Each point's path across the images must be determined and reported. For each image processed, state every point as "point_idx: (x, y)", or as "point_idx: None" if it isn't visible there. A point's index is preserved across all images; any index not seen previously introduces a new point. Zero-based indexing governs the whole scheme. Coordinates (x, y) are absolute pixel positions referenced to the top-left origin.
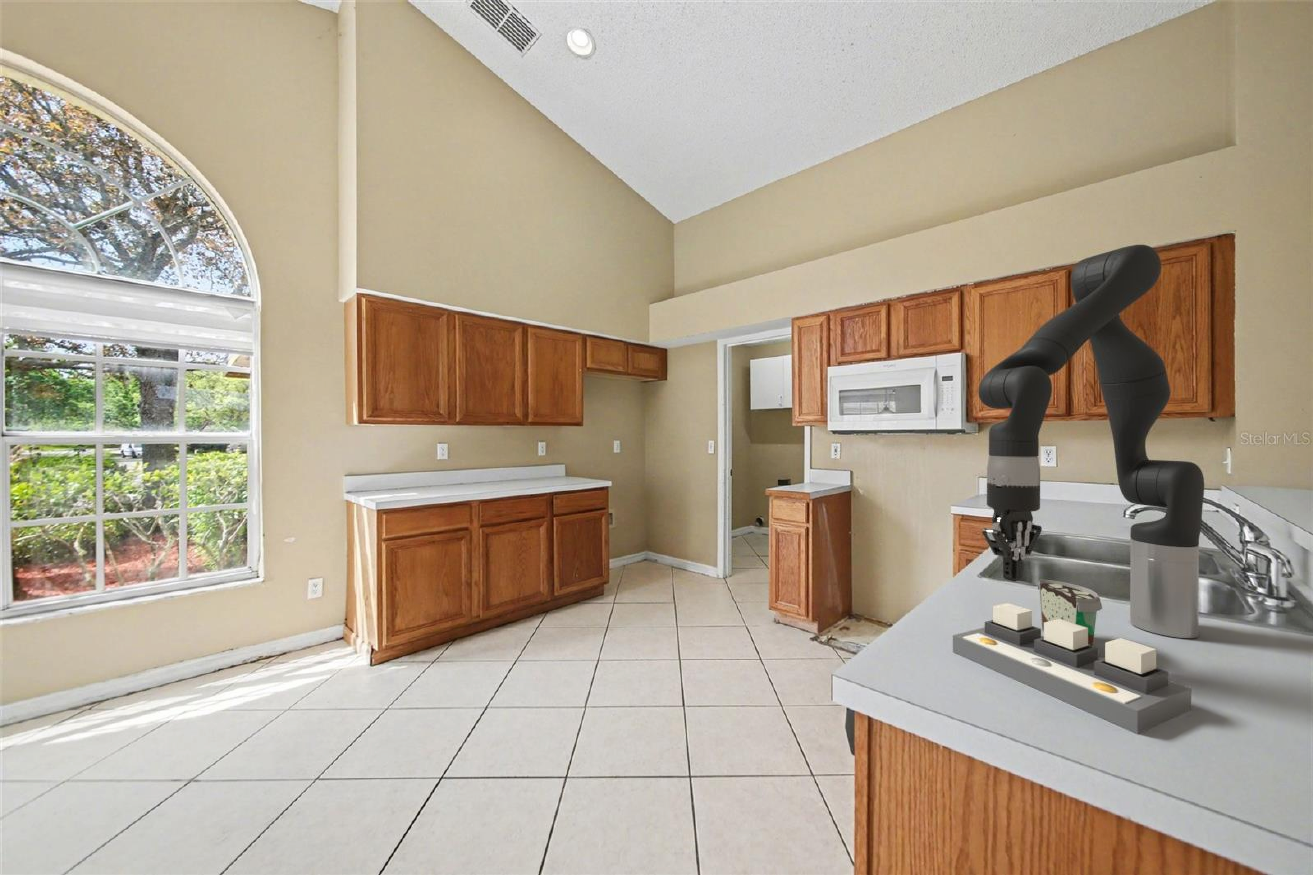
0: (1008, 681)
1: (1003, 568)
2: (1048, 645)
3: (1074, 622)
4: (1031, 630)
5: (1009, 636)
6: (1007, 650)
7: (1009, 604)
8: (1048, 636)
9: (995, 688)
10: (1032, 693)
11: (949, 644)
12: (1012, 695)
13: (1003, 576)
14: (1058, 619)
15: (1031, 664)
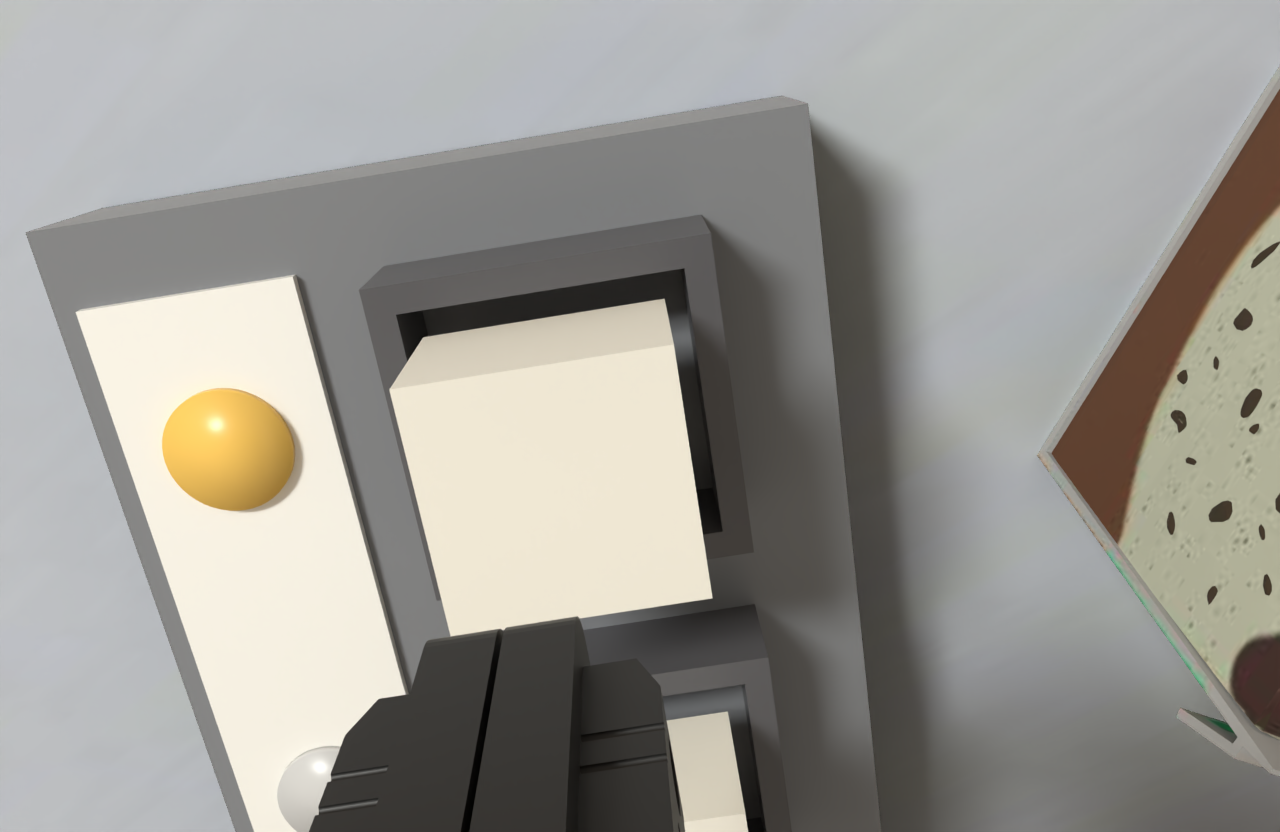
0: None
1: (315, 820)
2: None
3: (1161, 572)
4: None
5: None
6: (262, 605)
7: (646, 391)
8: None
9: (28, 689)
10: (213, 772)
11: (182, 69)
12: (72, 764)
13: (425, 650)
14: (727, 822)
15: (247, 797)
